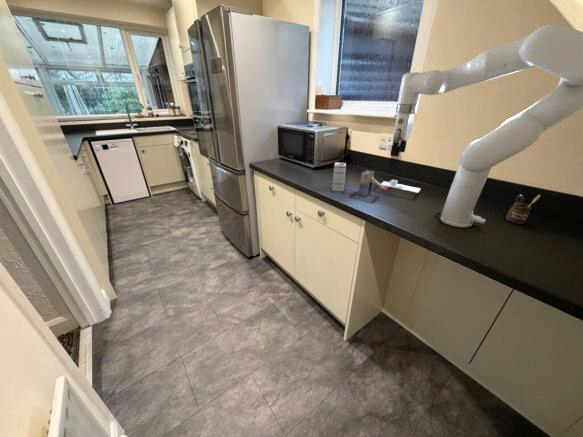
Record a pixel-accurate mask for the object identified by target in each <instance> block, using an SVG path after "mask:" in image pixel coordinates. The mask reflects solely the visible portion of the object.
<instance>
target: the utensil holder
mask: <svg viewBox="0 0 583 437" xmlns="http://www.w3.org/2000/svg"><path fill="white" fill-rule="evenodd" d="M520 196H521V194H518V196H516V198H515V203H513V205H512V206H511V207H510V208H509V209H508V212H507V214H506V216H505V220H507V221H508V222H510V223H513V224H518V225H522V224H525V223H526V221H527V219H528V218H529V215H530V211H531V210H532V205H533V204H534V203H536V202H537V201H538V200H539V199H540V197H541V196H542V195H541V194H538V195H537V196H535V198H533V200H532V201H531V203H530V204H526V203H523V202H519V198H520ZM524 199H525V196H522V198H520V201H524Z"/></svg>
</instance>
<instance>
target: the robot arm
mask: <svg viewBox="0 0 583 437" xmlns="http://www.w3.org/2000/svg"><path fill="white" fill-rule="evenodd" d="M535 67H537V68H539V69H541V70H544V71H545V72H547V73H550V74H552V75H555V76H557V77H559V83H558V84H557V85H556V87H555V88H554V89H553V90H552V91H551V92H550V93H548V94H546V95H545V96H543V97H542V98H540V99H539V100H538V101H536V102H535V103H533V104H532V105H530V106H528V107H527V108H526V109H523V110H522V111H520V112H519V113H517V114H516V115H513V116H512V117H510V118H507V119H506V120H505V121H504V122H503V123H502V124H501V125H500V126H498V127H497V128H495V129H494V130H492V131H491V132H489V133H487V134H486V135H484V136H482V137H481V138H478V139H475V140H473V141H471V142H470V143H468V145H466V146H465V148H464V149H462V152H461V153H460V156H459V164H458V167H457V169H456V172H455V174H454V177H453V181H452V183H451V185H450V188H449V191H448V194H447V197H446V199H445V202H444V205H443V208H442V211H441V215H440V218H439V221H440V222H442V223H443V224H445V225H448V226H452V227H456V228H470V227H472V226H473V224H474V223H477V224H480V225H484V224H485V223H486V219H485V218H482V216H481V215H480V216H479V215H475V214H474V209H475V208H476V205H477V202H478V200H479V198H480V196H481V194H482V191H483V189H484V187H485V185H486V182H487V179H488V178H489V175H490V172H491V170H492V168H493V167H495V166H497V165H499V164H501V163H503V162H505V161H506V160H508V159H510V158H512V157H514V156H516V155H518V154H519V153H521V152H522V151H525V150H526V149H527V148H530V147H531V146H532V145H533V144H534V143H536V142H537V141H538V139H539V138H540V136H541V134H542V133H544V132H546V131H547V130H549V129H550V128H552V127H554V126H556V125H557V124H559V123H561V122H562V121H564V120H566V119H567V118H569V117H571V116H572V115H574V114H575V113H577V112H578V111H580V110H581V109H583V31H580V30H578V29H576V28H572V27H570V26H567V25H564V24H560V23H549V24H546V25H543V26H540V27H539V28H537V29H536V30H534V31H533V32H531V33H530V34H529V35H527V36H523V37H520V38H518V39H516V40H512V41H510V42H507V43H505V44H502V45H499V46H495V47H493V48H490V49H488V50H485V51H483V52H481V53H479V54H477V55H476V56H475V57H474V58H473V59H470V60H469V61H466V62H464V63H462V64H460V65H456V66H454V67H451V68H447V69H445V70H440V69H433V70H428V71H424V72H419V71H416V72H413V71H412V72H407V73H404V74H403V75H402V77H401V82H400V87H399V92H398V97H397V104H396V109H395V114H396V115H397V116H396V119H395V124H394V128H393V134H392V143H391V149H390V153H389V155H390V156H391V157H399V155H400V153H405V152H406V147H407V142H408V140H409V139H411V136H412V130H413V124H414V118H415V115H416V114H417V113H418V107H419V102H420V98H421V95H426V96H437V95H441V94H444V93H449V92H452V91H456V90H459V89H462V88H465V87H468V86H472V85H477V84H481V83H484V82H488V81H491V80H493V79H494V80H495V79H498V78H501V77H503V76H508V75H510V74H514V73H517V72H522V71H526V70H529V69H531V68H535Z"/></svg>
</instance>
